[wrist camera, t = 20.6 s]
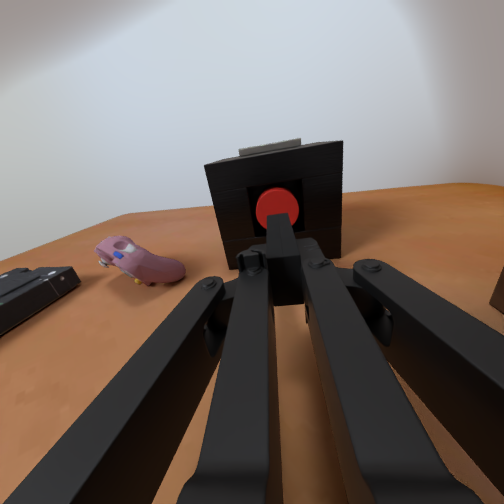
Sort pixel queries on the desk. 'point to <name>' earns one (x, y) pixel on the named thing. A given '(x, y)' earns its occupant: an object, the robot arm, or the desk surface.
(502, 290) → the box
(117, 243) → the video game controller
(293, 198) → the button
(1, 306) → the disk drive
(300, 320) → the desk surface
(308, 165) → the dark button box
